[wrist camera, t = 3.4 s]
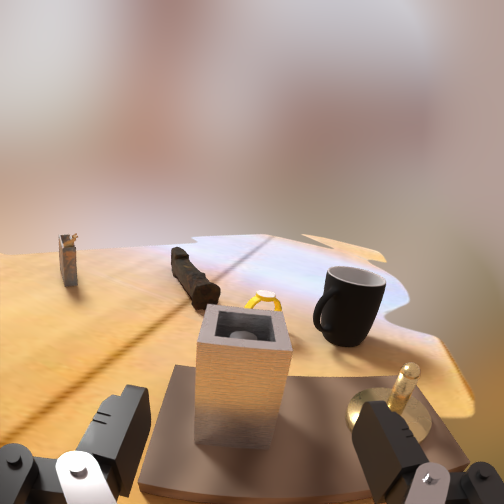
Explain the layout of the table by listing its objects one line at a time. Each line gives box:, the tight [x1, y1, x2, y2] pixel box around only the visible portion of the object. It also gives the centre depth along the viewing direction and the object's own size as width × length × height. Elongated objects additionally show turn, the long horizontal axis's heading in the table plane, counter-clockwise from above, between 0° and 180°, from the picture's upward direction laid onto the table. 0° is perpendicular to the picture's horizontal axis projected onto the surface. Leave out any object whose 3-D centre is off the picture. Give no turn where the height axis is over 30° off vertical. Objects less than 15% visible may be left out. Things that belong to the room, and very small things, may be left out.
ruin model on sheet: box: [59, 234, 78, 286], centre depth 53 cm, size 11×3×10 cm, turn 39°
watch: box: [244, 290, 282, 311], centre depth 44 cm, size 6×3×6 cm, turn 121°
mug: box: [313, 266, 386, 347], centre depth 43 cm, size 12×9×10 cm
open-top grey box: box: [194, 304, 293, 450], centre depth 23 cm, size 6×6×10 cm
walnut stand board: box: [138, 331, 470, 504], centre depth 23 cm, size 28×16×10 cm, turn 91°
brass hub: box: [345, 362, 432, 444], centre depth 24 cm, size 9×9×7 cm
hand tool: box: [171, 247, 220, 310], centre depth 59 cm, size 23×5×6 cm, turn 25°
